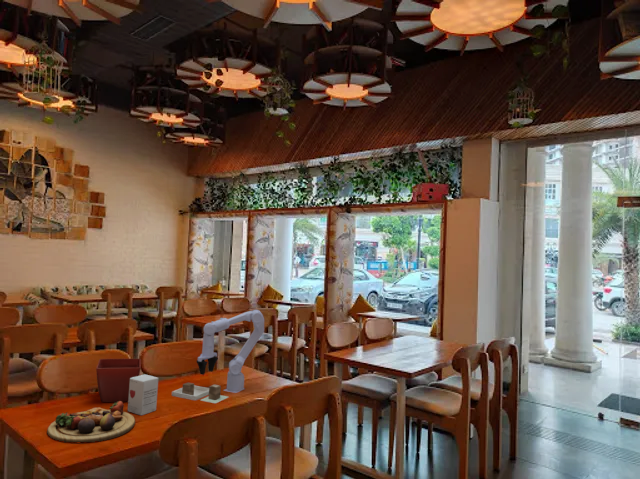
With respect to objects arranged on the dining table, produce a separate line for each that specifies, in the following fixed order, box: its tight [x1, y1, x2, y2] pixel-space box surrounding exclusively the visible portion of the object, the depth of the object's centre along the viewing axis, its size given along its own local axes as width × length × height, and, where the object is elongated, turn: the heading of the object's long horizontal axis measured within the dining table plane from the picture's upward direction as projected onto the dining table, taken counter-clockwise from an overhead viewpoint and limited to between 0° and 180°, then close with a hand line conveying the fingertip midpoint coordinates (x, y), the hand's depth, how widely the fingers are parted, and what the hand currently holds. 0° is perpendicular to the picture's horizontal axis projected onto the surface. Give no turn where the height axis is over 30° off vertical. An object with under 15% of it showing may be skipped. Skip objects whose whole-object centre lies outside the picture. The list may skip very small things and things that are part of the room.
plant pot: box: [95, 358, 142, 403], centre depth 234 cm, size 19×19×17 cm
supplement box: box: [127, 374, 160, 416], centre depth 218 cm, size 9×9×15 cm
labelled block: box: [208, 384, 222, 400], centre depth 240 cm, size 4×4×6 cm
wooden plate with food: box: [46, 401, 136, 443], centre depth 196 cm, size 32×32×8 cm
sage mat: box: [200, 394, 229, 404], centre depth 240 cm, size 12×9×1 cm
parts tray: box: [171, 384, 209, 401], centre depth 245 cm, size 15×14×2 cm
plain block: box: [181, 382, 195, 395], centre depth 241 cm, size 4×4×6 cm
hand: (206, 372), depth 253 cm, fingers open, 7 cm apart
